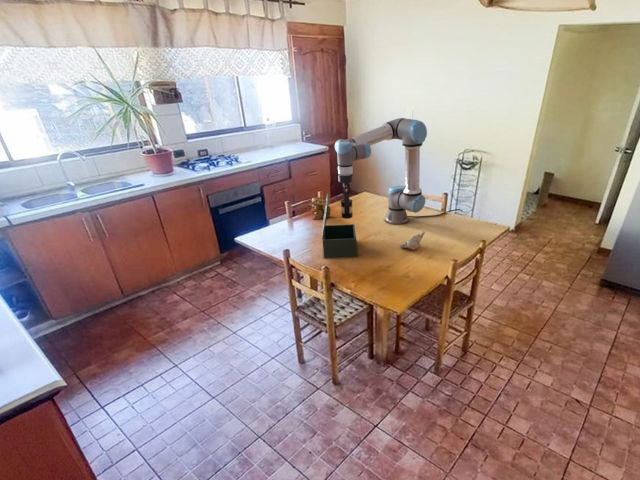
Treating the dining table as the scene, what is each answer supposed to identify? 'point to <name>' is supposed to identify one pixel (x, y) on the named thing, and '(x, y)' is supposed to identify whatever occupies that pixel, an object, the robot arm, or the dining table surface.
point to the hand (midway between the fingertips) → (347, 216)
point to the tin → (344, 210)
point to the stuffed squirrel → (320, 210)
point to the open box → (340, 241)
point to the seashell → (413, 242)
